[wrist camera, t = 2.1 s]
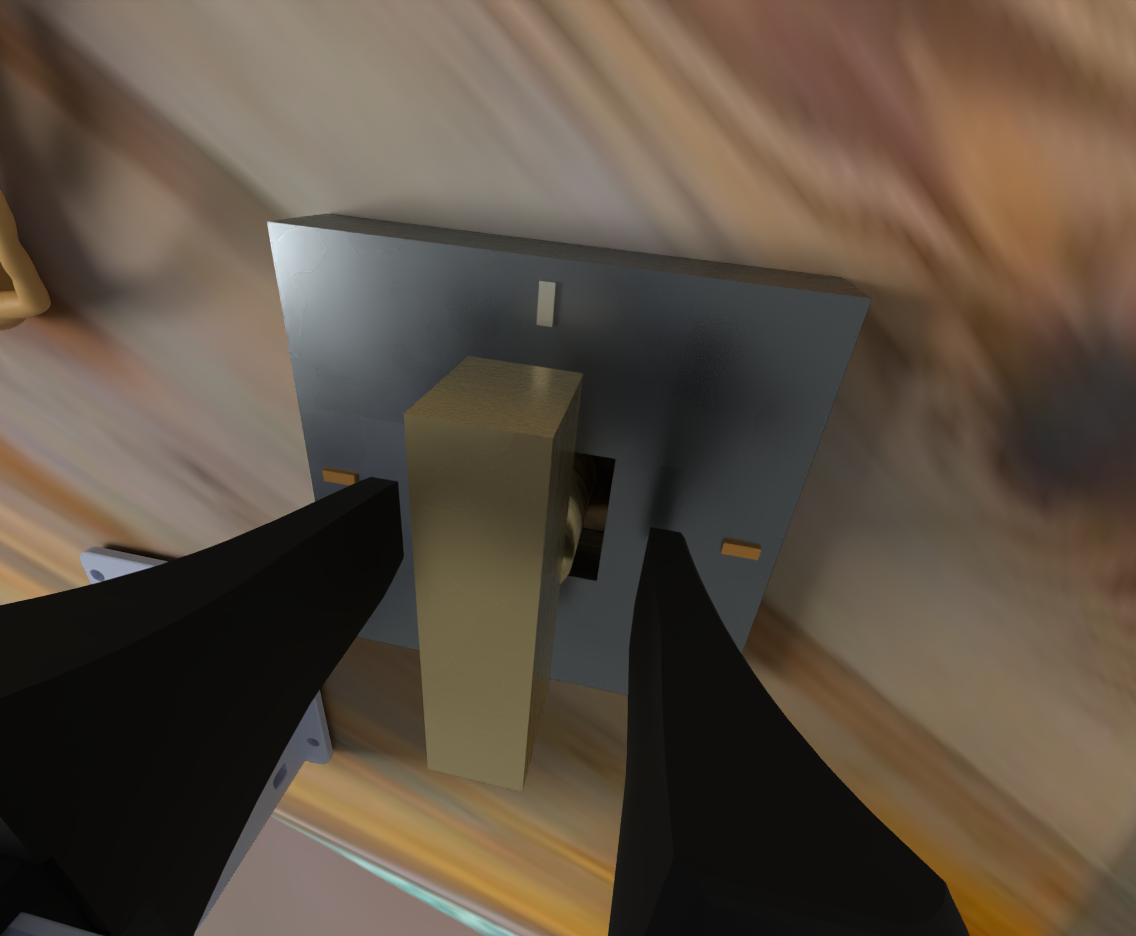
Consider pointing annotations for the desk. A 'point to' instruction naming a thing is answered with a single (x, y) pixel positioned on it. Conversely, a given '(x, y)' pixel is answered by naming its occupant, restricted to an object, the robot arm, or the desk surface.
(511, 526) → the t key
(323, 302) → the key plate
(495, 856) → the desk surface
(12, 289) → the figurine
